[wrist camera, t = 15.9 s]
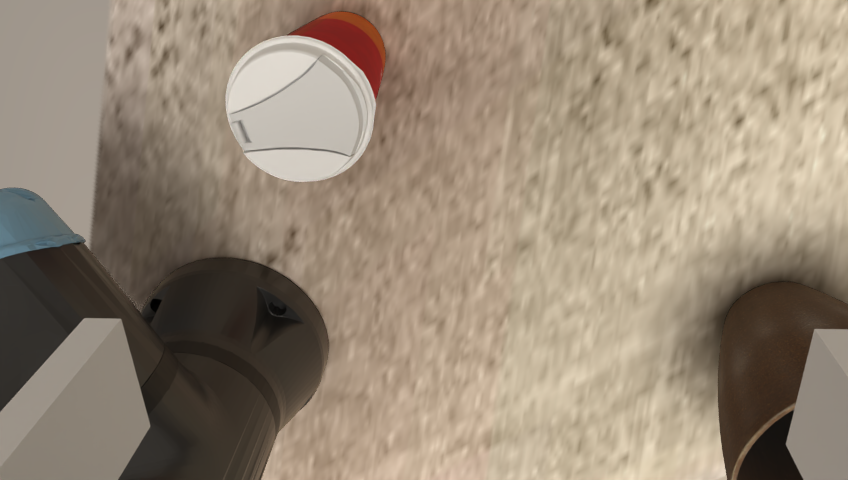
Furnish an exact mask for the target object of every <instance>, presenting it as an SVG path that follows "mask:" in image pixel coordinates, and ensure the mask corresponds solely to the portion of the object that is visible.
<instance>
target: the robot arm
mask: <svg viewBox="0 0 848 480" xmlns="http://www.w3.org/2000/svg"><path fill="white" fill-rule="evenodd" d="M84 242H85V239H84V238H83V237H82V236H80V235H78V234H74V233H73V231H72V230H71V229H70V228H69V227H68V226H67V225H66V224H65V223H64V222H63V220H62V219H61V218H60V217H59V216H58V215H57V214H56V213H55V212H54V210H52V208H51V207H50V206H49V205H48V204H47V203H46V202H45V201H44V200H43V199H42V198H41V197H40V196H39V195H37V194H35V193H34V192H31V191H29V190H26V189H22V188H4V189H0V480H261V478H262V476H263V473H264V470H265V467H266V464H267V461H268V459H269V456H270V453H271V450H272V447H273V444H274V441H275V439H276V436H277V434H278V432H279V431H280V430H281V429H282V428H283V427H284V426H285V425H286V424H287V423H288V422H289V421H290V420H291V419H292V418H293V417H294V416H295V414H296V413H297V412H298V411H299V410H301V409H302V408H303V407H304V406H305V405H306V404H307V403H308V402H309V401H310V399H311V398H312V397H313V395H314V394H315V392H316V390H317V388H318V386H319V384H320V381H321V378H322V375H323V373H324V370H325V366H326V363H327V359H328V337H327V332H326V328H325V325H324V323H323V320H322V318H321V316H320V314H319V312H318V310H317V309H316V307H315V306H314V304H313V303H312V302H311V300H310V299H309V298H308V297H307V296H306V295H305V294H304V292H303V291H302V290H300V289H299V288H298V287H297V286H296V285H295V284H294V283H292V282H291V281H290V280H288V279H287V278H285V277H284V276H282V275H280V274H279V273H277V272H275V271H273V270H271V269H269V268H267V267H264V266H262V265H259V264H256V263H253V262H249V261H245V260H239V259H231V258H213V259H205V260H200V261H196V262H193V263H190V264H187V265H185V266H183V267H181V268H179V269H177V270H176V271H174V272H172V273H171V274H170V275H169V276H167V277H166V278H165V279H164V280H163V281H162V282H161V284H160V285H159V286H158V287H157V289H156V290H155V291H154V292H153V294H152V295H151V296H150V298H149V299H148V300H147V302H146V304H145V305H144V307H143V309H142V312H141V313H140V312H139V311H138V309H137V308H136V307H135V306H134V305H133V303H132V302H131V301H130V300H129V298H128V297H127V296H126V295H125V293H124V292H123V291H122V290H121V288H120V287H119V286H118V285H117V284H116V282H115V281H114V280H113V279H112V277H111V276H110V275H109V274H108V272H107V271H106V270H105V269H104V267H103V266H102V265H101V264H100V263H99V261H98V260H97V259H96V258H95V256H94V255H93V254H92V253H91V251H90V250H89V249H88V248H87V246H86V245H85V244H84ZM786 446H787V448H788V450H789V452H790V454H791V456H792V458H793V460H794V462H795V464H796V466H797V468H798V470H799V472H800V474H801V476H802V478H803V480H848V329H814V333H813V337H812V341H811V345H810V349H809V353H808V357H807V361H806V365H805V369H804V373H803V377H802V381H801V385H800V389H799V393H798V397H797V401H796V405H795V409H794V413H793V417H792V421H791V425H790V429H789V433H788V437H787V441H786Z"/></svg>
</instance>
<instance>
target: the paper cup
mask: <svg viewBox="0 0 848 480" xmlns="http://www.w3.org/2000/svg"><path fill="white" fill-rule="evenodd" d="M384 67H385V47H384V44H383V41H382V38H381V36H380V34H379V33H378V31H377V30H376V28H375V27H374V26H373V25H372V24H371V23H370V22H369V21H367V20H366V19H365V18H363V17H361V16H359V15H357V14H354V13H350V12H333V13H329V14H326V15H323V16H321V17H319V18H317V19H315V20H313V21H311V22H309V23H308V24H306V25H304V26H302V27H300V28H299V29H297V30H295V31H293V32H291V33H290V34H288V35H286V36H280V37H275V38H271V39H269V40H266V41H263V42H261V43H259V44H258V45H256V46H254V47H253V48H251V49H250V50H249V51H248V52H247V53H246V54H244V55H243V56H242V58H241V59H240V60H239V61H238V63H237V64H236V66H235V67H234V69H233V71H232V73H231V75H230V78H229V81H228V84H227V90H226V112H227V118H228V121H229V124H230V127H231V130H232V132H233V134H234V136H235V138H236V140H237V141H238V143H239V144H240V146H241V147H242V149H243V150H244V152H243V154H244V155H245V156H246V157H247V158H248V159H249V160H250V161H251V162H252V163H253V164H255V165H256V166H257V167H258V168H260V169H261V170H263V171H264V172H266V173H268V174H270V175H272V176H274V177H277V178H280V179H283V180H287V181H294V182H310V181H319V180H325V179H328V178H331V177H334V176H336V175H338V174H340V173H342V172H344V171H345V170H347V169H348V168H350V167H351V166H352V165H353V164H354V163H355V162H356V161H357V160H358V159H359V158H360V157H361V155H362V154H363V152H364V151H365V149H366V147H367V145H368V143H369V141H370V138H371V135H372V131H373V125H374V116H375V109H376V102H375V101H376V97H377V94H378V90H379V87H380V83H381V80H382V76H383V72H384Z"/></svg>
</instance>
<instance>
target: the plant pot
mask: <svg viewBox="0 0 848 480" xmlns="http://www.w3.org/2000/svg"><path fill="white" fill-rule="evenodd" d="M814 329H848V304H846V303H844V302H842V301H840V300H838V299H835V298H833V297H831V296H829V295H827V294H824V293H822V292H820V291H817V290H815V289H813V288H810V287H807V286H805V285H802V284H799V283H794V282H773V283H769V284H764V285H762V286H759V287H756V288H754V289H752V290H751V291H749V292H747V293H746V294H744V295H743V296H741V297H740V298H739V299H738V300H737V301H736V302H735V303H734V304H733V306H732V307H731V308H730V310H729V312H728V314H727V316H726V319H725V323H724V328H723V333H722V339H721V346H720V355H719V368H718V408H719V423H720V434H721V443H722V450H723V457H724V463H725V469H726V475H727V480H803V478H802V476H801V474H800V472H799V470H798V468H797V466H796V464H795V462H794V460H793V458H792V456H791V454H790V452H789V450H788V448H787V446H786V441H787V437H788V433H789V429H790V425H791V421H792V417H793V413H794V409H795V405H796V401H797V397H798V393H799V389H800V385H801V381H802V377H803V373H804V369H805V365H806V361H807V357H808V353H809V349H810V345H811V341H812V337H813V333H814Z"/></svg>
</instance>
